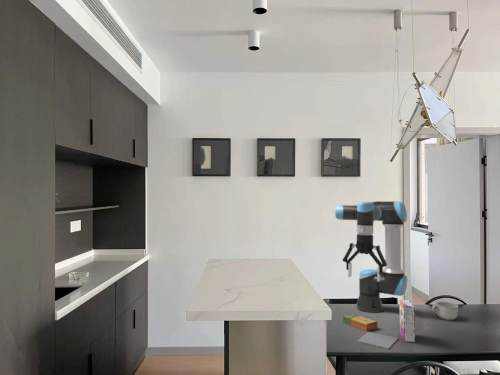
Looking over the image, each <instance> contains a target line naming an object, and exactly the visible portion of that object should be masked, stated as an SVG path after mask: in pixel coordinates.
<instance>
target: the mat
mask: <svg viewBox="0 0 500 375" xmlns="http://www.w3.org/2000/svg"><path fill="white" fill-rule="evenodd" d="M398 340H399V338H398V337H394V336H390V335H385V334H382V333H381V334H380V333H376V332H372V331H368V332H366V333H365V334H364V335H362V336H361V337H360V338H359V339H358V340H357V341H356V342H357V343H360V344H363V345H369V346H372V347H377V348H380V349H385V350H390V349H391V347H393V345H394V344H395V343H396V342H397V341H398Z"/></svg>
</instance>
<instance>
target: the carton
mask: <svg viewBox="0 0 500 375" xmlns="http://www.w3.org/2000/svg"><path fill="white" fill-rule="evenodd" d="M342 322H343V324H346V325H348V326H350V327H353V328H356V329H359V330H361V331H364V332H366V333H367V332H372V331H374V330H375V331H376V330H378V320H374V319H371V318H368V317H366V316H362V315H358V314H356V313H349V314H347V315H343V316H342Z"/></svg>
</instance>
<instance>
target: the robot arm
mask: <svg viewBox="0 0 500 375" xmlns="http://www.w3.org/2000/svg"><path fill="white" fill-rule="evenodd" d="M407 213H408V212H407V208H406V205H405V203H404V202H402V201H395V200H393V201H387V200H386V201H381V200H380V201H378V200H377V201H359V202H357V204H353V205H352V204H351V205H350V204H349V205H347V204H346V205H345V204H344V205H343V204H342V205H337V206H336V207H335V210H334V214H335V218H336V219H337V220H341V221H344V220H345V221H356V233H357V234H356V243H355V242H351V243H349V247H348V250H347V251H346V252H345V255H344V256H343V258H342V262H344V263H346V268H345V269H346V270H347V272H348V274H347V277H348V278H351V277H352V270H353V268H352V267H353V266H352V265H353V263H352V261H353V260H354V259H355V258H356V257H357V255H359V254H361V255H363V254H364V255H369V256H370V257H371V258H372V259H373V261H374V262H375V263H376V265H377V267H376V268H377V269H373V268H372V269H364V270H360V272H359V278H358V279H359V282H358V285H359V286H358V288H359V289H358V290H359V291H358V292H359V293H358V294H359V296H358V298H357V302H356V306H355V307H356V309H357V310H359V311H362V312H367V313H381V312H383V311H384V306H383V302H382V300H381V296H380V295H381V294H385V295H391V296H403V295H405V293H406V291H407V285H408V276H407V275H405V271H404V270H403V269H402V249H401V248H402V237H401V236H402V232H401V231H402V227H403V226H404V223H405V222H407V220H408V215H407ZM377 221H378V222H382V226H384V240H385V241H384V250H385V251H384V255H385V256H384V255H383V253H382V251H381V245H379V244H378V245H374V222H377ZM355 248H356V250H355V252H354V253H353V254H351V253H352V251H353V249H355ZM373 250H375V251H376V253H377V255H378V257H379V258H378V257H377V255H376V254H375V253H374V251H373ZM350 255H351V256H350ZM349 256H350V257H349ZM384 267H385V268H384Z"/></svg>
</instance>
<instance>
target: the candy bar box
mask: <svg viewBox="0 0 500 375" xmlns="http://www.w3.org/2000/svg"><path fill="white" fill-rule="evenodd" d="M398 304H399V334H400V336H401V337H402V339H403V341H404V342H406V343H416V315H415V311H416V310H415V308H416V307H415V306H414V305H413V303H412V301H410V300H408V299H407V300H406V299H400V300H399V303H398Z"/></svg>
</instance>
